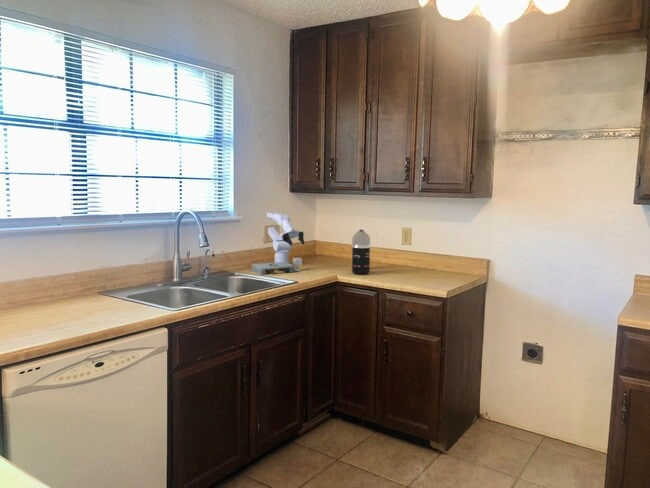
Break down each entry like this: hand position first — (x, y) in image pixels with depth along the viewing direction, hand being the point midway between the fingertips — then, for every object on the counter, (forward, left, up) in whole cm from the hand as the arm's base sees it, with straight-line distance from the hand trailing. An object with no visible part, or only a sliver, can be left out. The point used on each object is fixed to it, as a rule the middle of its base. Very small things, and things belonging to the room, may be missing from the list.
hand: (297, 243), depth 302 cm
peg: (-3, +1, -16) cm, 16 cm away
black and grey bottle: (+22, +29, -16) cm, 40 cm away
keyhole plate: (-6, -13, -16) cm, 21 cm away
